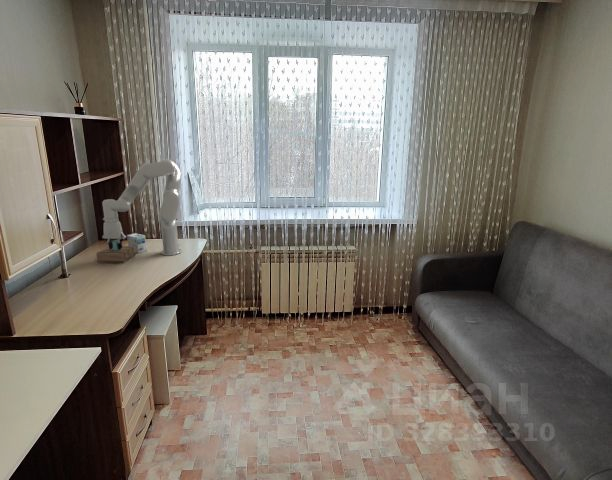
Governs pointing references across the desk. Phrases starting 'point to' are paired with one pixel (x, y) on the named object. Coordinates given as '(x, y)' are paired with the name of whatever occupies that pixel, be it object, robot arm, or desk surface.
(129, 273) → the desk surface
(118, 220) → the robot arm
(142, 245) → the light bulb box
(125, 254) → the walnut socket block
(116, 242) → the teal peg
